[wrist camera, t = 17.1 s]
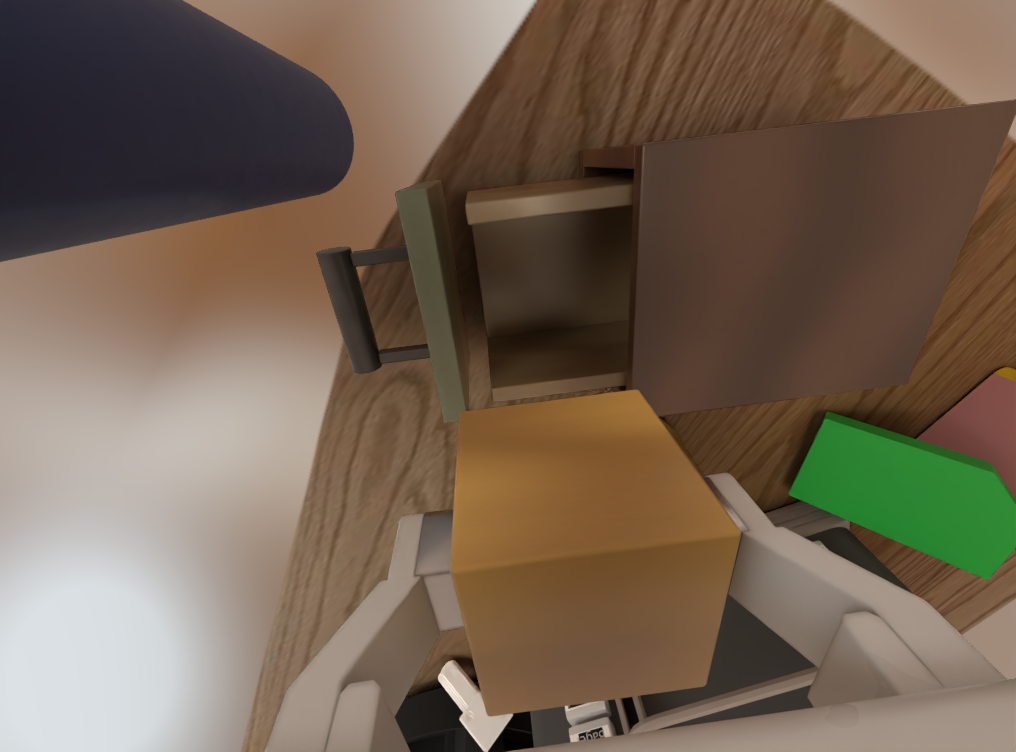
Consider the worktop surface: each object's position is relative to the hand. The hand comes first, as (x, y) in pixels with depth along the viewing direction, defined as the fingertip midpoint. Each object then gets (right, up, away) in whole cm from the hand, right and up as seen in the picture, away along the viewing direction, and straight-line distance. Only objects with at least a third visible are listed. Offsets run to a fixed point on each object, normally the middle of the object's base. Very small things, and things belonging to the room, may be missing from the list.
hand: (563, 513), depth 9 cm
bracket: (+27, -6, +20) cm, 34 cm away
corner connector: (-4, -29, +34) cm, 45 cm away
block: (0, +1, +1) cm, 2 cm away
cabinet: (+10, +11, +16) cm, 22 cm away
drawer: (-2, +10, +15) cm, 18 cm away
